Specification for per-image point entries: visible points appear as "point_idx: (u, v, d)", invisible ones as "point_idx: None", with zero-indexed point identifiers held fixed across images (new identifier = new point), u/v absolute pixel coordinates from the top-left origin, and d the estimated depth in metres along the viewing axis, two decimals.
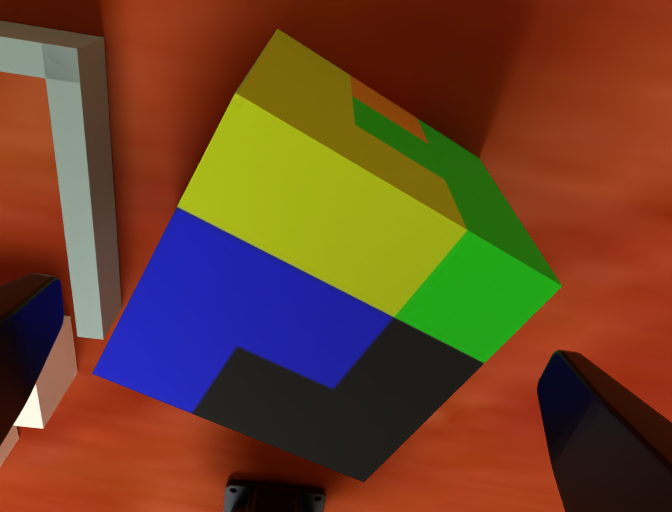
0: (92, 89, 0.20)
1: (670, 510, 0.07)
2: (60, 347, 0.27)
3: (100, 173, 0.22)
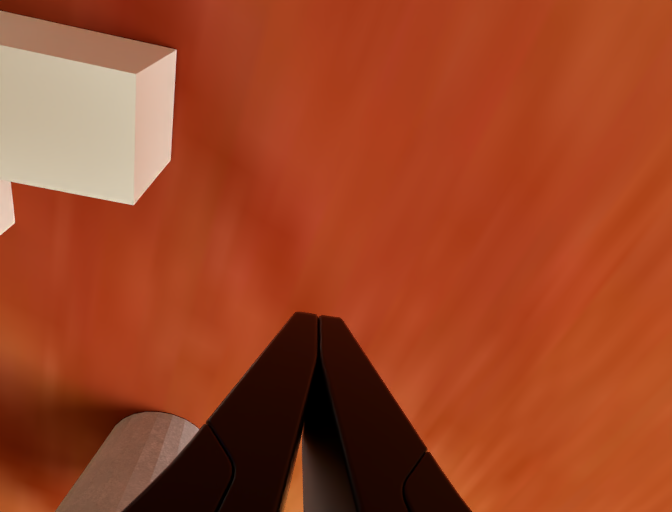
0: None
1: (334, 470, 0.06)
2: None
3: None
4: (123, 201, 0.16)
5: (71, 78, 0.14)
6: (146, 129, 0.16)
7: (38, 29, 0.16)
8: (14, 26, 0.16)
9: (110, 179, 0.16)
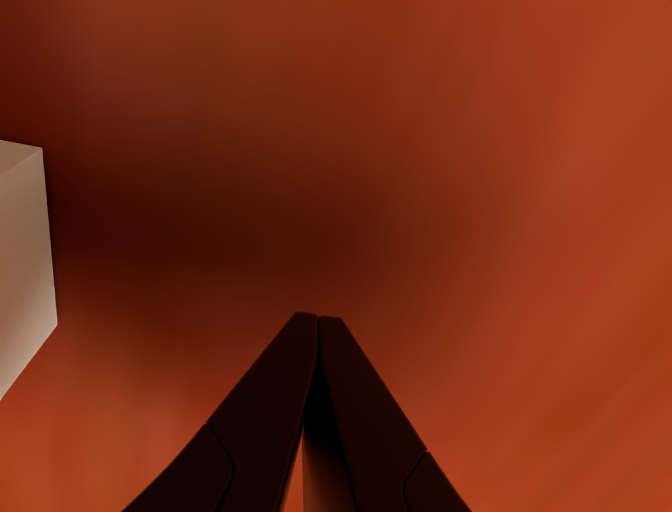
0: None
1: (334, 470, 0.06)
2: None
3: None
4: None
5: None
6: None
7: None
8: None
9: None
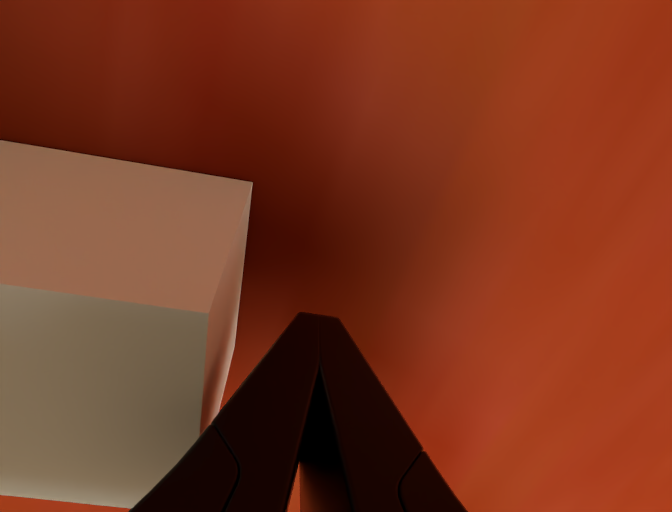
0: None
1: (330, 469, 0.06)
2: None
3: None
4: None
5: (62, 325, 0.06)
6: (214, 371, 0.08)
7: None
8: None
9: (148, 481, 0.08)
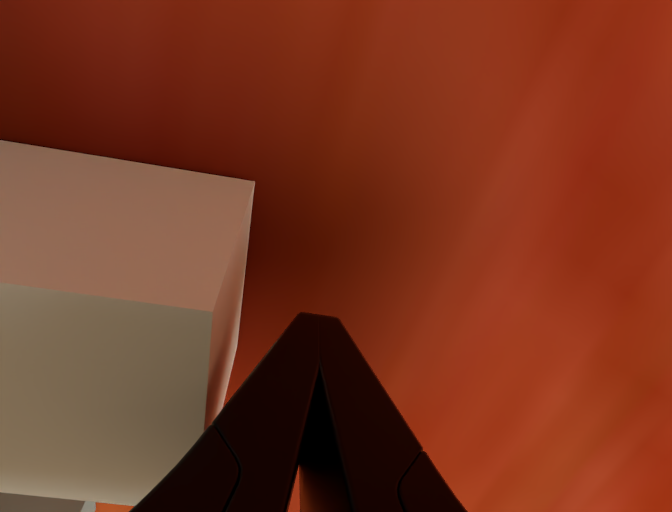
0: None
1: (330, 469, 0.06)
2: None
3: None
4: None
5: (66, 324, 0.06)
6: (217, 369, 0.08)
7: None
8: None
9: (152, 478, 0.08)
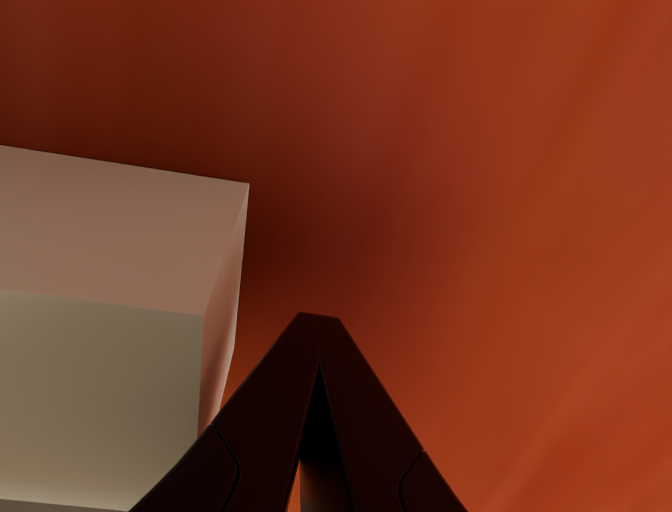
0: None
1: (330, 469, 0.06)
2: None
3: None
4: None
5: (57, 329, 0.06)
6: (212, 373, 0.08)
7: None
8: None
9: (146, 484, 0.08)
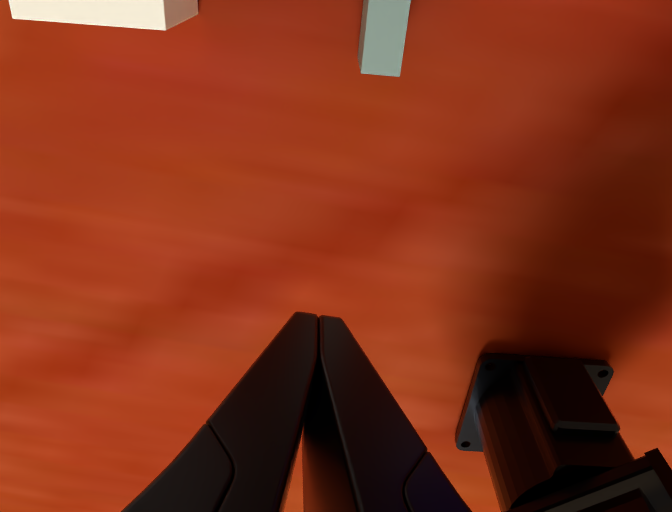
0: None
1: (334, 470, 0.06)
2: None
3: None
4: (12, 5, 0.14)
5: None
6: None
7: None
8: None
9: None
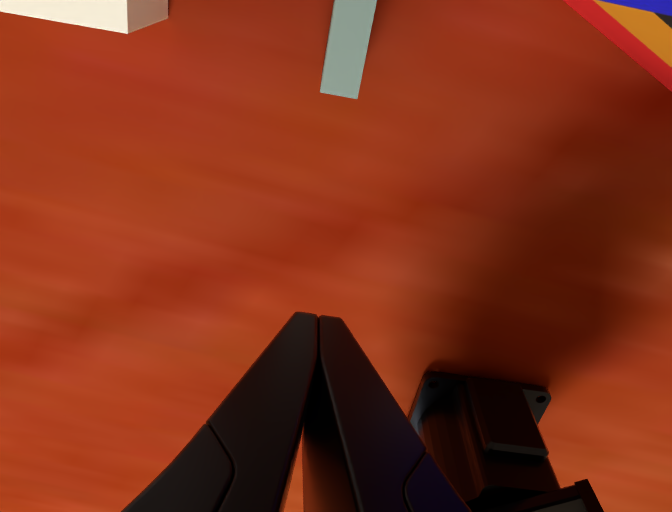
0: None
1: (334, 470, 0.06)
2: None
3: None
4: None
5: None
6: None
7: None
8: None
9: None
